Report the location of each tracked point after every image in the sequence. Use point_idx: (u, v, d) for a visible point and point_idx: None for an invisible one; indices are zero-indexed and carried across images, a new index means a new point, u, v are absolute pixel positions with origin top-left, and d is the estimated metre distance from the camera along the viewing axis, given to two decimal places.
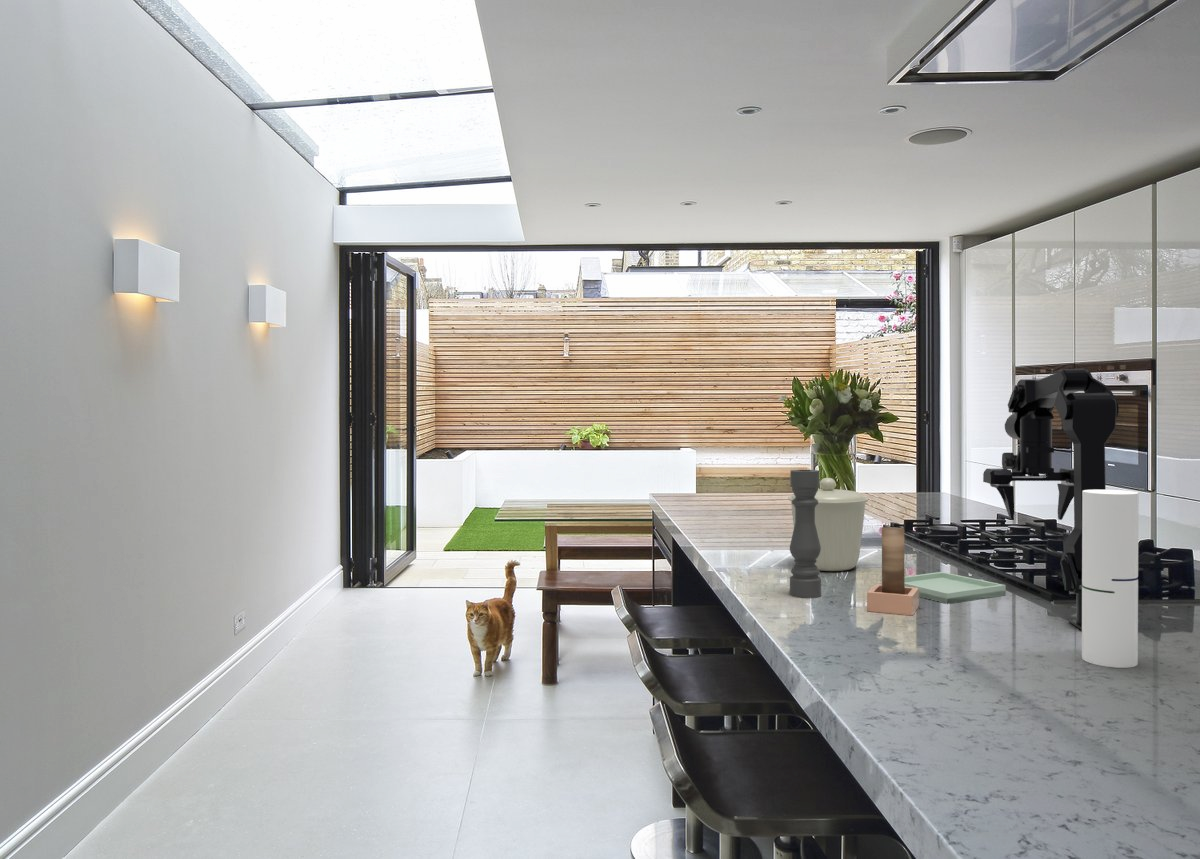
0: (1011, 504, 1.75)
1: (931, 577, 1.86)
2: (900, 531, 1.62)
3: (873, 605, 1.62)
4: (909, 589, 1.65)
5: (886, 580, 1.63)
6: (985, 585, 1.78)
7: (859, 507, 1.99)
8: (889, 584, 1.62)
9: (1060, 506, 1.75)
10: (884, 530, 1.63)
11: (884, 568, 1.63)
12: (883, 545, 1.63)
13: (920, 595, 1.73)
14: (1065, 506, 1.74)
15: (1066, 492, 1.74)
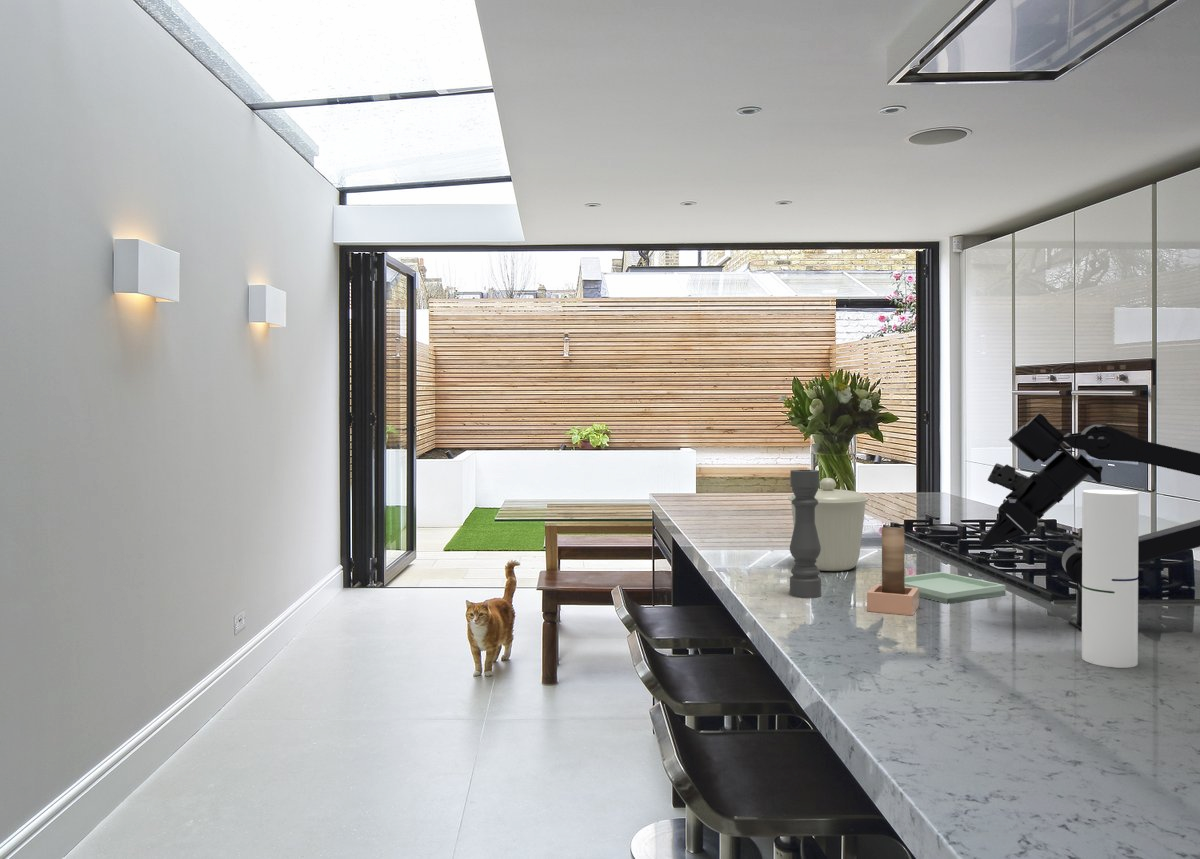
0: None
1: (931, 577, 1.86)
2: (900, 531, 1.62)
3: (873, 605, 1.62)
4: (909, 589, 1.65)
5: (886, 580, 1.63)
6: (985, 585, 1.78)
7: (859, 507, 1.99)
8: (889, 584, 1.62)
9: None
10: (884, 530, 1.63)
11: (884, 568, 1.63)
12: (883, 545, 1.63)
13: (920, 595, 1.73)
14: None
15: None
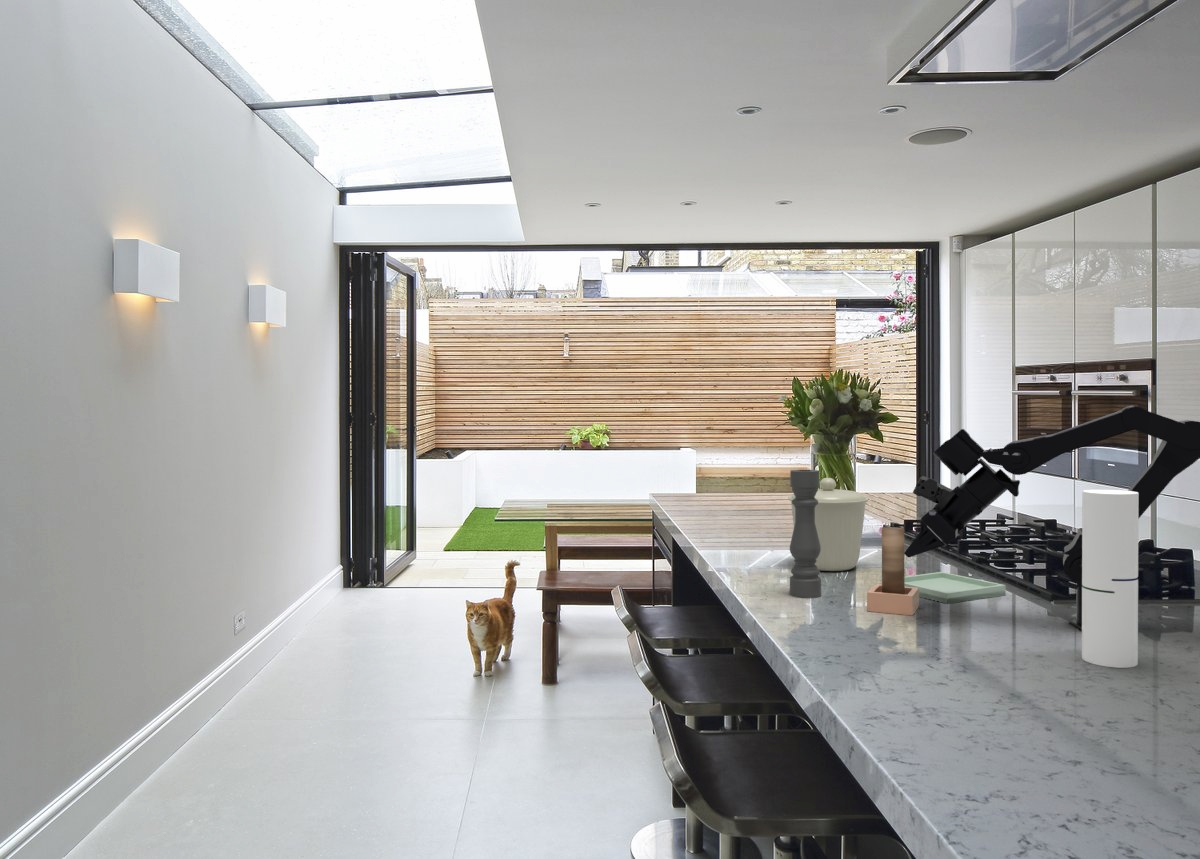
0: (925, 551, 1.56)
1: (931, 577, 1.86)
2: (900, 531, 1.62)
3: (873, 605, 1.62)
4: (909, 589, 1.65)
5: (886, 580, 1.63)
6: (985, 585, 1.78)
7: (859, 507, 1.99)
8: (889, 584, 1.62)
9: None
10: (884, 530, 1.63)
11: (884, 568, 1.63)
12: (883, 545, 1.63)
13: (920, 595, 1.73)
14: None
15: None
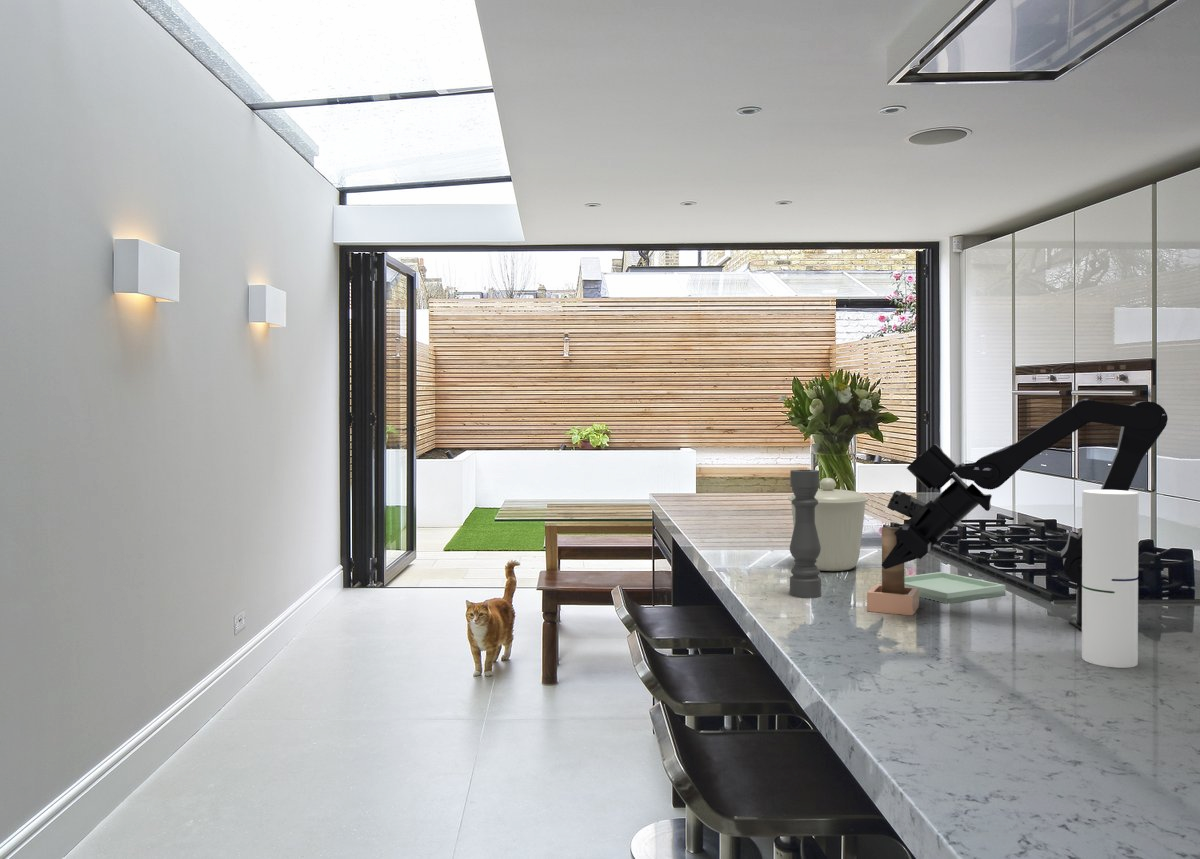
0: None
1: (931, 577, 1.86)
2: None
3: (873, 605, 1.62)
4: (909, 589, 1.65)
5: (886, 580, 1.63)
6: (985, 585, 1.78)
7: (859, 507, 1.99)
8: (889, 584, 1.62)
9: None
10: (884, 530, 1.63)
11: None
12: (883, 545, 1.63)
13: (920, 595, 1.73)
14: None
15: None
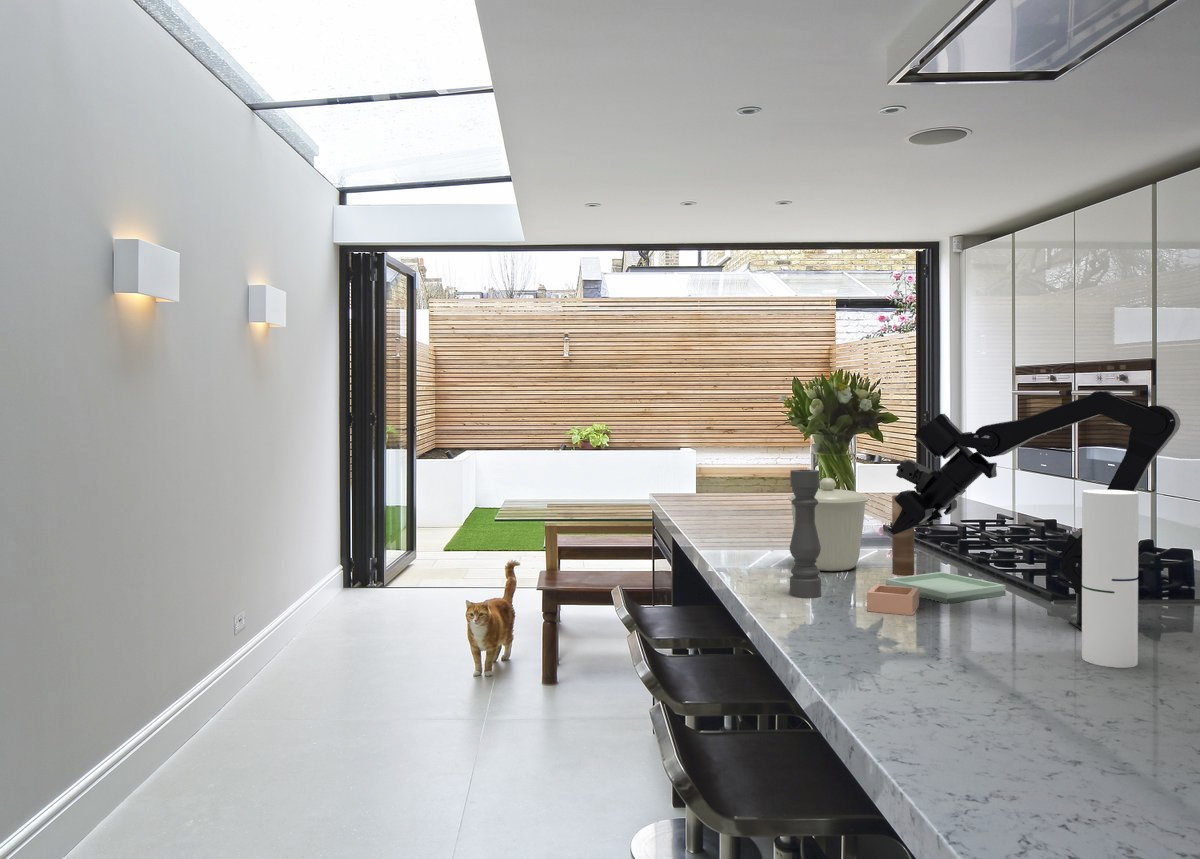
0: None
1: (931, 577, 1.86)
2: None
3: (873, 605, 1.62)
4: (909, 589, 1.65)
5: (895, 546, 1.68)
6: (985, 585, 1.78)
7: (859, 507, 1.99)
8: (897, 549, 1.68)
9: None
10: (893, 497, 1.69)
11: None
12: (892, 512, 1.69)
13: (920, 595, 1.73)
14: (916, 525, 1.70)
15: (928, 519, 1.68)
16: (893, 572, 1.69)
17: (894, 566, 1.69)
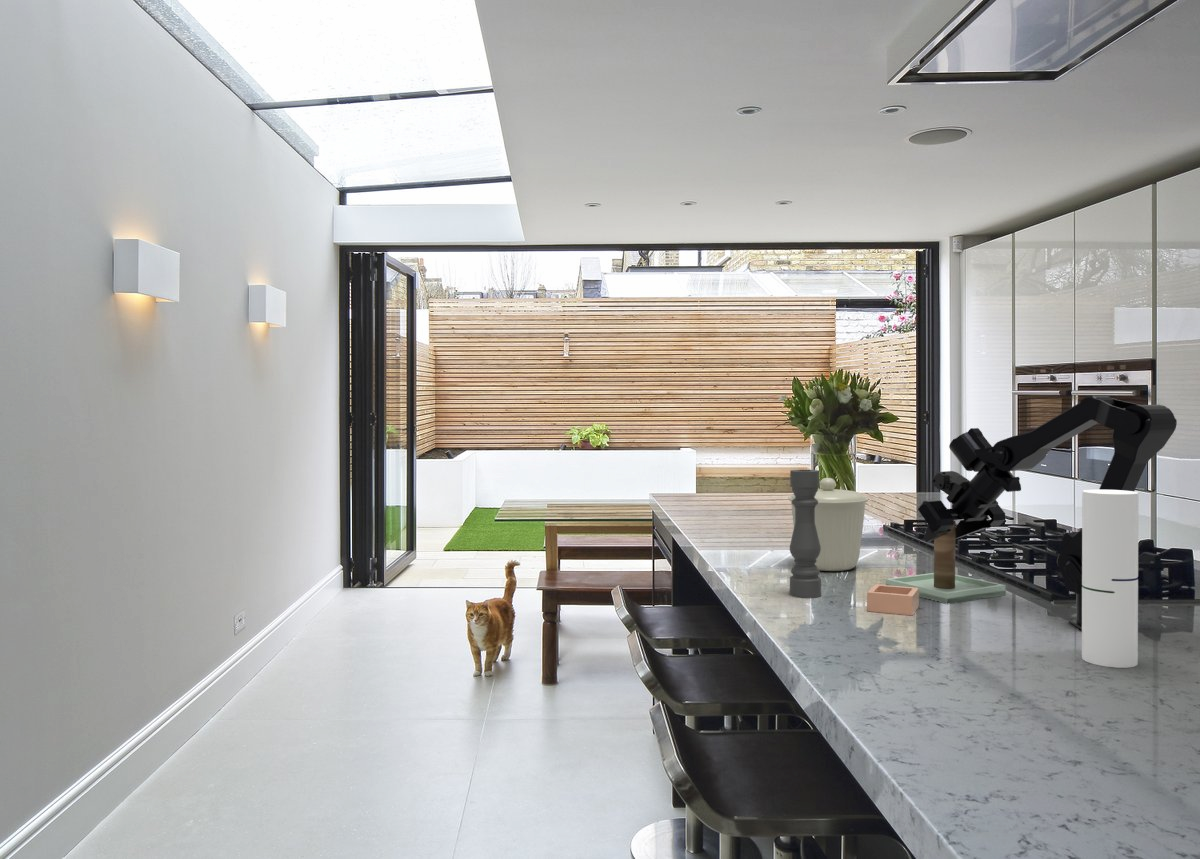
0: (936, 537, 1.74)
1: (931, 577, 1.86)
2: None
3: (873, 605, 1.62)
4: (909, 589, 1.65)
5: (934, 559, 1.78)
6: (985, 585, 1.78)
7: (859, 507, 1.99)
8: (935, 563, 1.77)
9: (960, 530, 1.79)
10: None
11: (934, 548, 1.78)
12: None
13: (920, 595, 1.73)
14: None
15: (975, 528, 1.76)
16: (934, 584, 1.79)
17: (934, 579, 1.78)
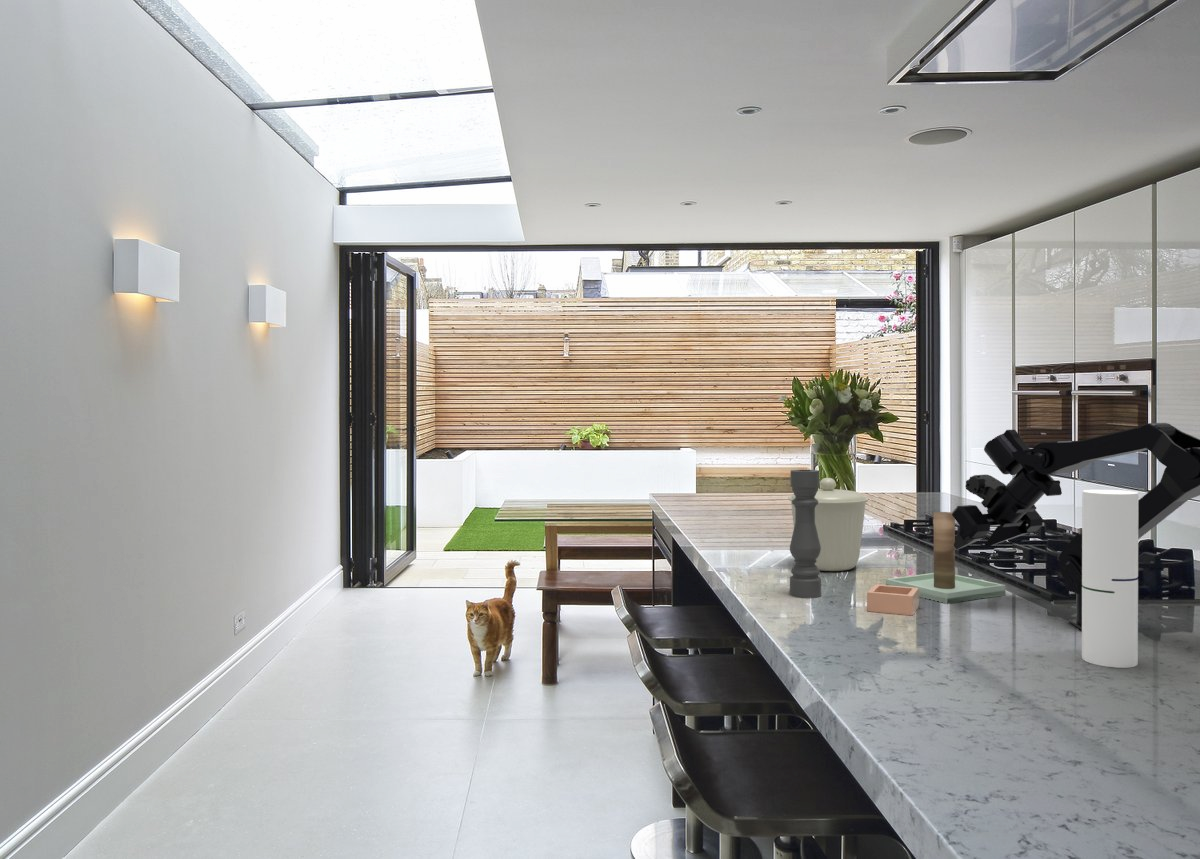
0: (968, 544, 1.66)
1: (931, 577, 1.86)
2: (945, 515, 1.76)
3: (873, 605, 1.62)
4: (909, 589, 1.65)
5: (934, 559, 1.78)
6: (985, 585, 1.78)
7: (859, 507, 1.99)
8: (935, 563, 1.77)
9: (997, 536, 1.72)
10: None
11: None
12: None
13: (920, 595, 1.73)
14: None
15: (1013, 534, 1.69)
16: (934, 584, 1.79)
17: (934, 579, 1.78)
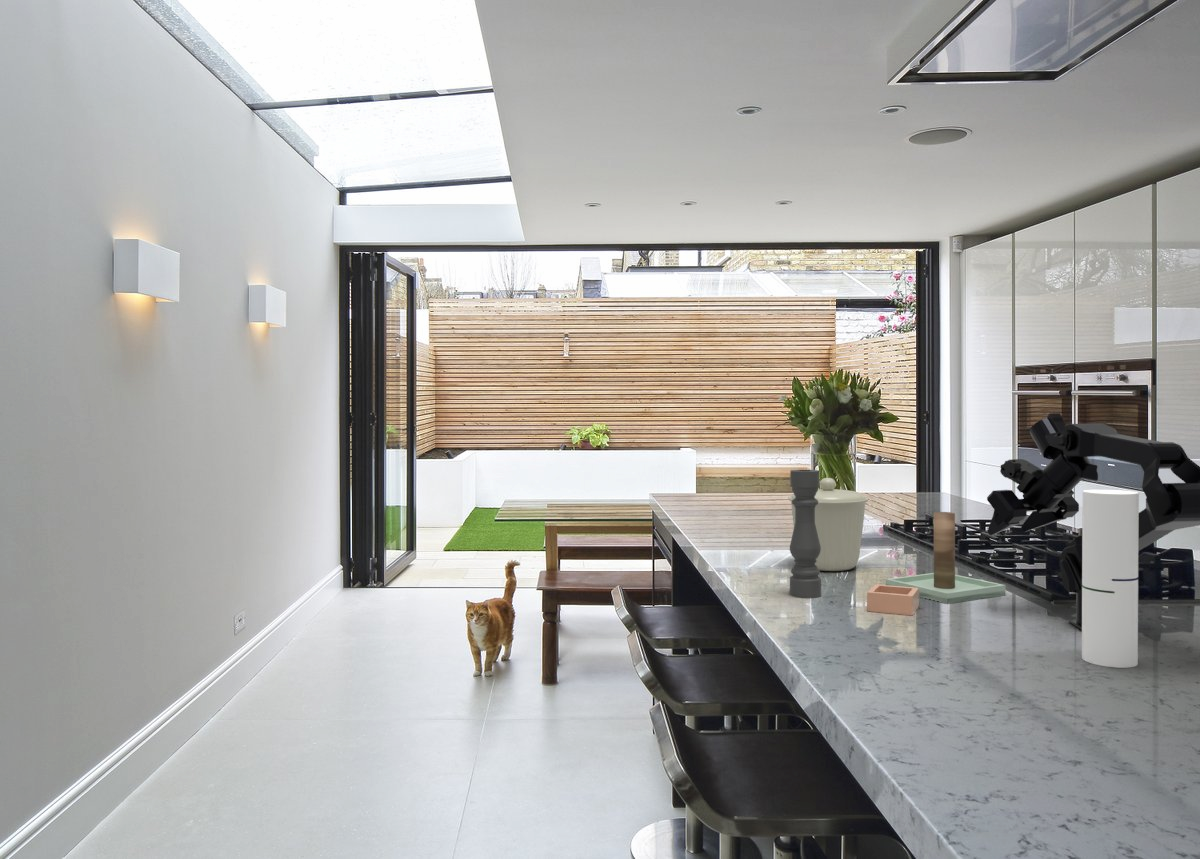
0: (1002, 530, 1.62)
1: (931, 577, 1.86)
2: (945, 515, 1.76)
3: (873, 605, 1.62)
4: (909, 589, 1.65)
5: (934, 559, 1.78)
6: (985, 585, 1.78)
7: (859, 507, 1.99)
8: (935, 563, 1.77)
9: (1032, 522, 1.68)
10: None
11: None
12: None
13: (920, 595, 1.73)
14: None
15: (1049, 520, 1.65)
16: (934, 584, 1.79)
17: (934, 579, 1.78)
